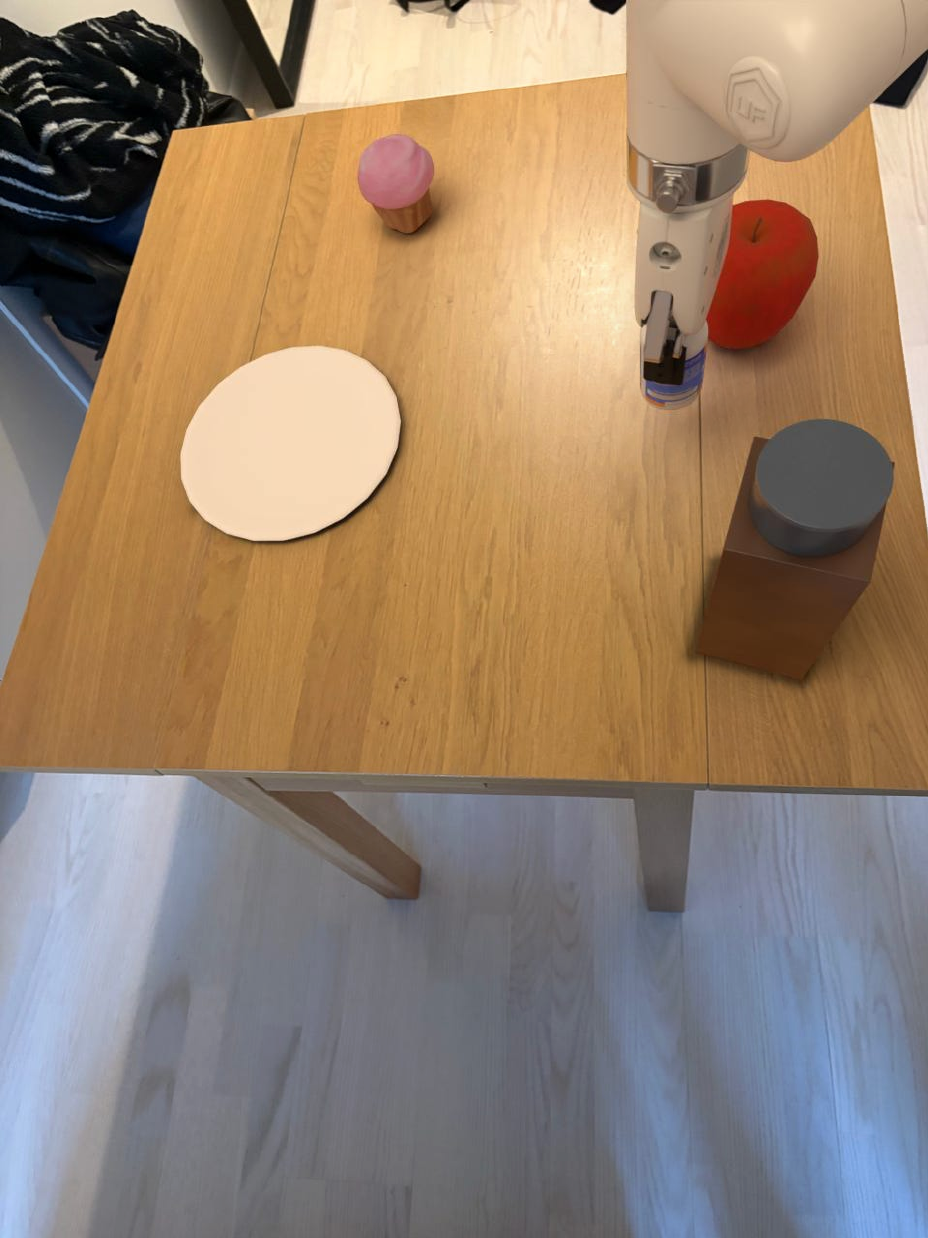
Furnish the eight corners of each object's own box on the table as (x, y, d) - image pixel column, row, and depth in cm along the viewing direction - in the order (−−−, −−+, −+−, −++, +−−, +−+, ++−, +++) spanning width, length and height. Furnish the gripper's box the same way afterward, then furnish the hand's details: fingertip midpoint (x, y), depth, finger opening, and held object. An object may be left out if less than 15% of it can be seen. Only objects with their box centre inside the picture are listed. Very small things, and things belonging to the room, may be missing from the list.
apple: (745, 266, 85) (768, 145, 72) (825, 333, 80) (865, 216, 67) (651, 327, 84) (658, 215, 71) (726, 398, 79) (748, 292, 66)
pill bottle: (713, 396, 69) (725, 314, 60) (656, 422, 69) (660, 343, 60) (683, 353, 71) (691, 268, 62) (628, 378, 71) (628, 297, 63)
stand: (822, 587, 70) (895, 461, 52) (801, 680, 67) (870, 582, 49) (719, 563, 73) (754, 435, 54) (694, 652, 70) (723, 549, 52)
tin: (884, 467, 52) (904, 431, 48) (862, 571, 49) (881, 541, 46) (761, 444, 54) (771, 408, 50) (734, 543, 52) (743, 512, 48)
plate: (369, 321, 91) (366, 313, 90) (431, 494, 81) (428, 488, 80) (168, 398, 92) (163, 391, 91) (204, 579, 82) (198, 574, 81)
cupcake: (457, 206, 96) (441, 128, 86) (417, 257, 94) (396, 183, 84) (399, 186, 99) (377, 109, 90) (359, 235, 97) (332, 161, 88)
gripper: (715, 258, 46) (692, 443, 62) (779, 60, 51) (742, 278, 67) (589, 244, 48) (599, 426, 64) (663, 55, 53) (655, 268, 70)
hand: (673, 349), depth 66 cm, fingers closed on pill bottle, 5 cm apart
